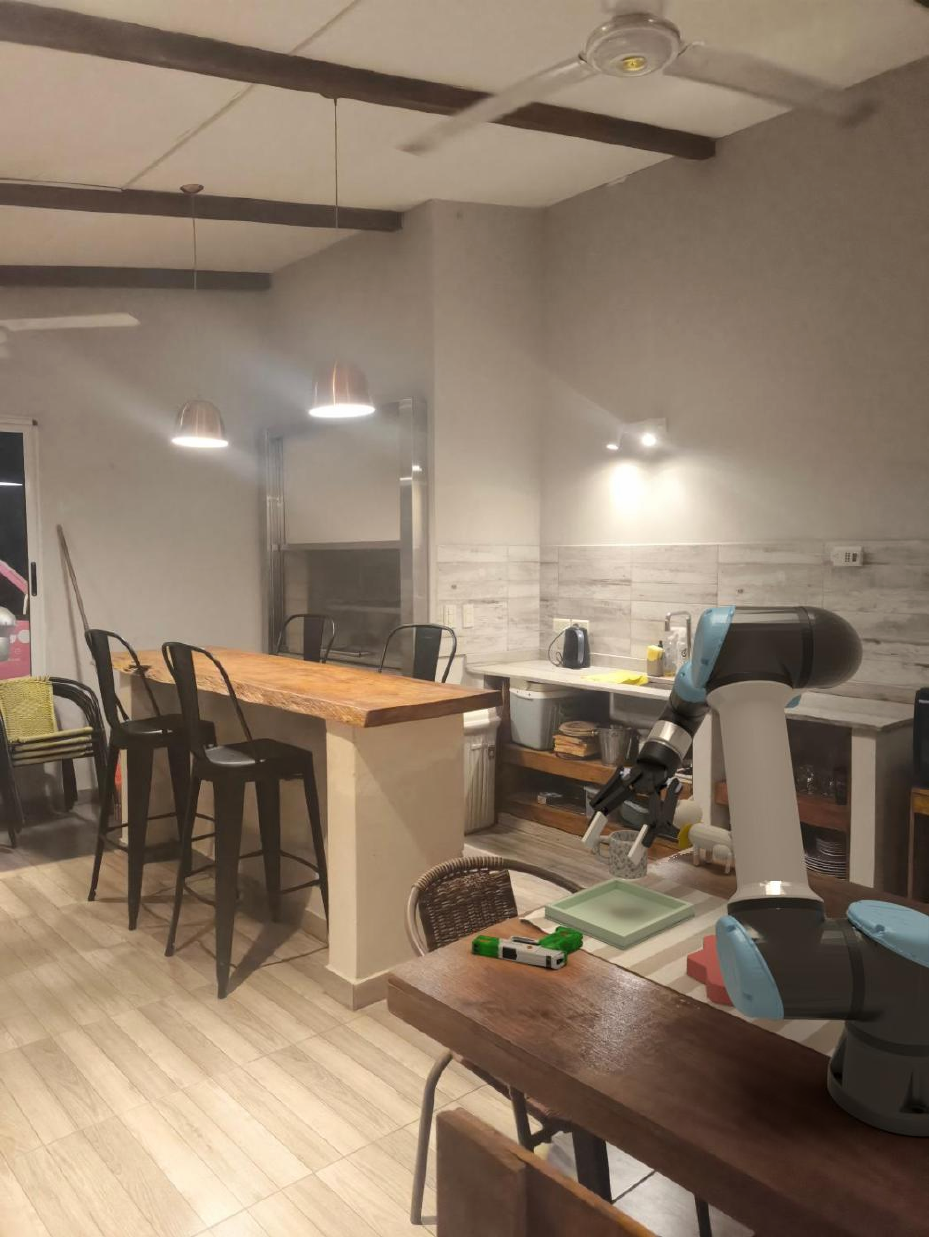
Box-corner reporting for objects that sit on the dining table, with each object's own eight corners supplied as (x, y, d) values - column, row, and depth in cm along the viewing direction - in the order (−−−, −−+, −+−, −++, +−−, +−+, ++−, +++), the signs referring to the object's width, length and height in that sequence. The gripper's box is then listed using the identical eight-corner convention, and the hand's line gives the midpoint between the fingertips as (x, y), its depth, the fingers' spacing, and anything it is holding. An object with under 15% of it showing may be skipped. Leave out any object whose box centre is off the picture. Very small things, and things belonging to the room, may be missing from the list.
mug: (652, 870, 169) (653, 834, 168) (637, 881, 163) (638, 844, 163) (602, 859, 174) (602, 824, 174) (586, 870, 169) (586, 834, 168)
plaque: (685, 928, 156) (779, 936, 153) (684, 951, 156) (778, 958, 153) (688, 978, 138) (794, 988, 135) (688, 1003, 139) (794, 1013, 136)
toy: (688, 850, 204) (689, 782, 202) (765, 874, 189) (767, 801, 188) (662, 859, 198) (662, 790, 197) (739, 885, 184) (741, 810, 182)
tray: (624, 950, 156) (624, 936, 155) (544, 917, 169) (544, 905, 169) (694, 916, 169) (694, 904, 169) (615, 888, 182) (615, 877, 182)
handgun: (499, 914, 165) (470, 939, 154) (585, 929, 158) (560, 956, 148) (500, 930, 165) (470, 957, 155) (585, 946, 158) (560, 974, 148)
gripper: (723, 773, 169) (669, 880, 160) (625, 752, 186) (571, 848, 177) (707, 749, 165) (651, 858, 156) (607, 729, 182) (552, 826, 173)
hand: (608, 852), depth 166 cm, fingers closed on mug, 10 cm apart
